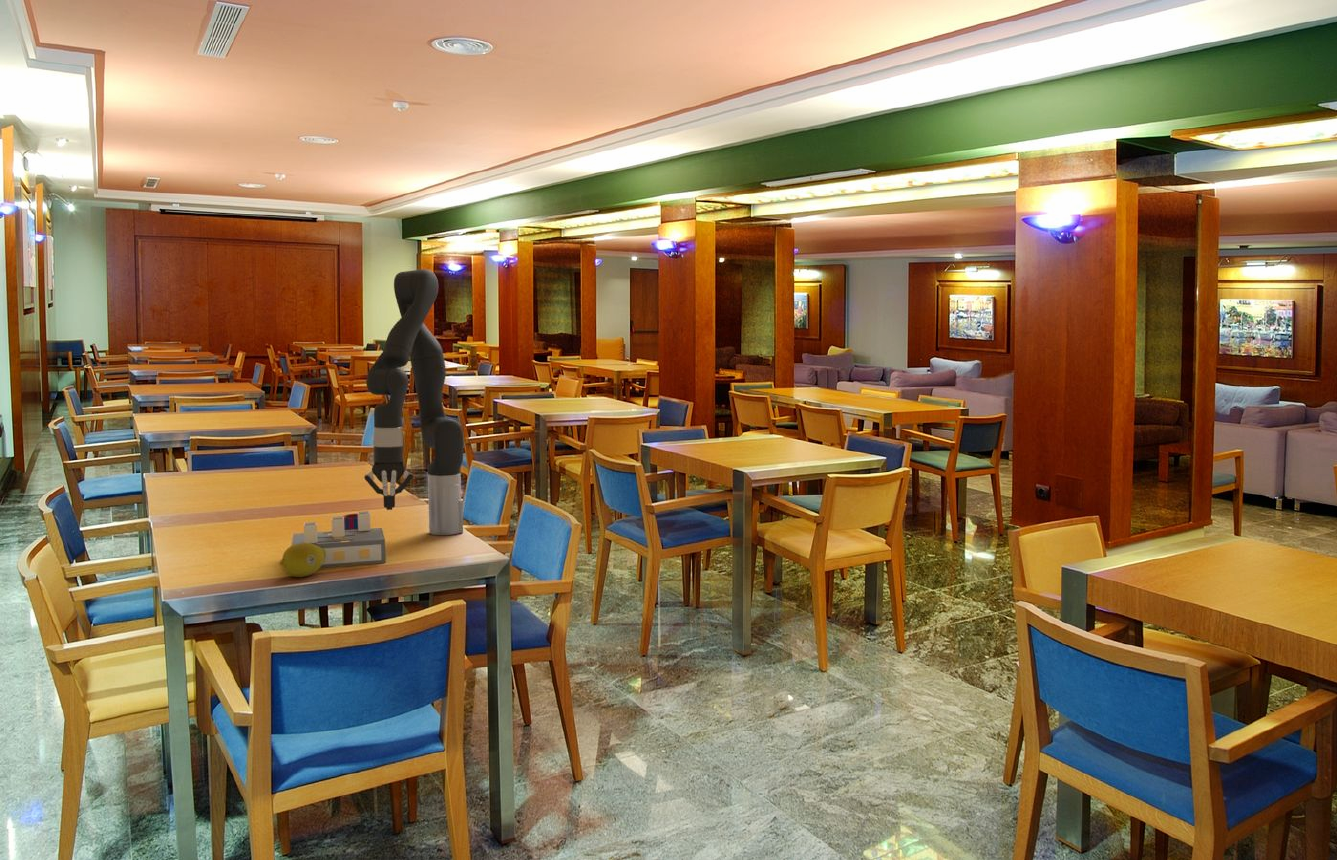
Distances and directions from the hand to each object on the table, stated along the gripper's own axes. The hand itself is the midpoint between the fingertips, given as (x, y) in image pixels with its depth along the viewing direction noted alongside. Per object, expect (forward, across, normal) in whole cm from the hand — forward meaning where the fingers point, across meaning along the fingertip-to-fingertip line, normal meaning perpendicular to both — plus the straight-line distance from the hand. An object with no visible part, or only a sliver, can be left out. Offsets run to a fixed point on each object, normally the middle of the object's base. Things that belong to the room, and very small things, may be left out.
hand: (389, 509), depth 258 cm
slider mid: (+6, +13, +6) cm, 15 cm away
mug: (+12, +10, -19) cm, 24 cm away
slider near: (+6, +19, +11) cm, 23 cm away
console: (+12, +13, +6) cm, 18 cm away
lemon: (+12, +21, +20) cm, 31 cm away
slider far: (+5, +6, 0) cm, 8 cm away
